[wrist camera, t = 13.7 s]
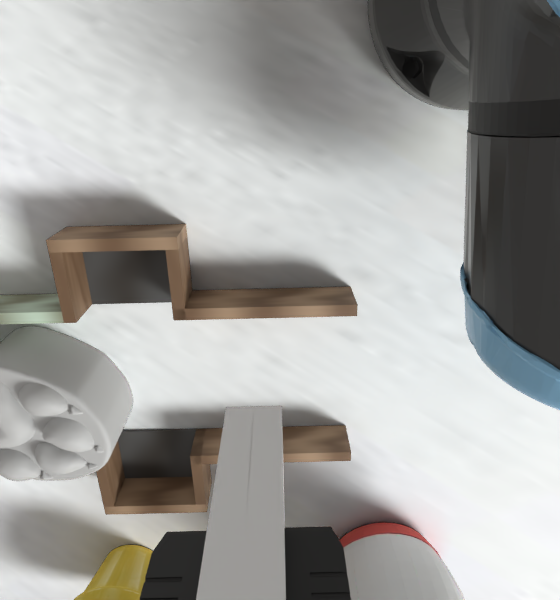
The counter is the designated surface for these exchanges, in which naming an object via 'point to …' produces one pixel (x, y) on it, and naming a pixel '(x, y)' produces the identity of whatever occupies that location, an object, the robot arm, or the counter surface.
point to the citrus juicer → (395, 565)
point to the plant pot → (119, 575)
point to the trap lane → (186, 306)
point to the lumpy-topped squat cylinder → (58, 406)
